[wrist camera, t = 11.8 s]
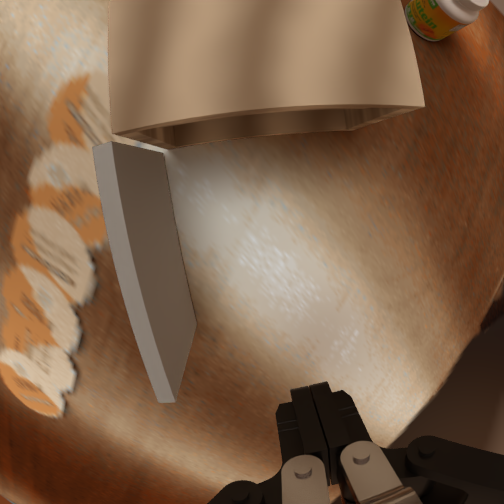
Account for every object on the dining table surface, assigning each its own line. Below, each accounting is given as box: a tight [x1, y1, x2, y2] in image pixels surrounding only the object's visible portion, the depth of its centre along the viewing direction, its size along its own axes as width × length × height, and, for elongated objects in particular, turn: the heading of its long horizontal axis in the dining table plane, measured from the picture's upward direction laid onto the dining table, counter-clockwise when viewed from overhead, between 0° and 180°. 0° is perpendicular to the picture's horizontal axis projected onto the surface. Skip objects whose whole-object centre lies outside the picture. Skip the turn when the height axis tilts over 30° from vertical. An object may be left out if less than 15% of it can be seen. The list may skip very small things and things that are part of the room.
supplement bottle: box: [405, 0, 489, 41], centre depth 20 cm, size 5×5×10 cm
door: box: [92, 141, 197, 403], centre depth 23 cm, size 16×2×12 cm, turn 8°
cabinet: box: [108, 0, 425, 149], centre depth 19 cm, size 17×16×13 cm
